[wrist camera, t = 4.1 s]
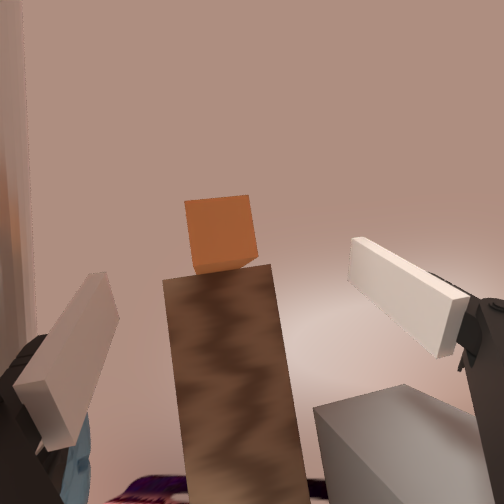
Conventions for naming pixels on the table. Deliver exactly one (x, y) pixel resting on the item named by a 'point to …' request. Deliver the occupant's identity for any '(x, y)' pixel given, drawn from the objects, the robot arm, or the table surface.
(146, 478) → the table surface
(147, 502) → the table surface
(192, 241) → the orange rectangular bar
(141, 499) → the table surface
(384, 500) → the grey upright cuboid
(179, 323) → the post
